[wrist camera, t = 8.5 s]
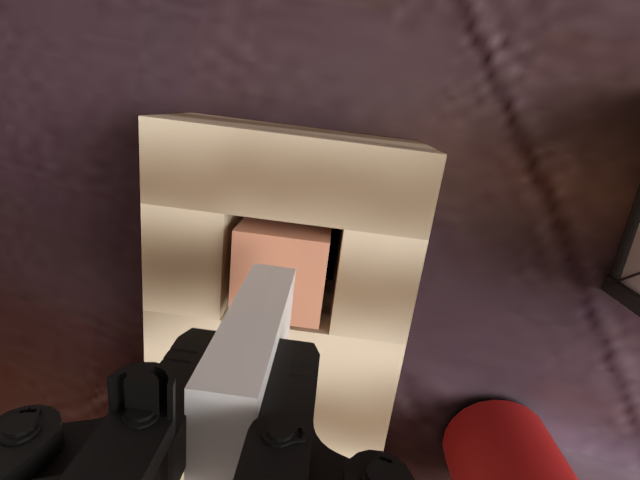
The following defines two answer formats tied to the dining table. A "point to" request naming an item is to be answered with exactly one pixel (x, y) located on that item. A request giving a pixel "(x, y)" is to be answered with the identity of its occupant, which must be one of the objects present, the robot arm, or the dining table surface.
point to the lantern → (627, 264)
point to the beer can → (502, 445)
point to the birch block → (302, 208)
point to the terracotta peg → (284, 261)
